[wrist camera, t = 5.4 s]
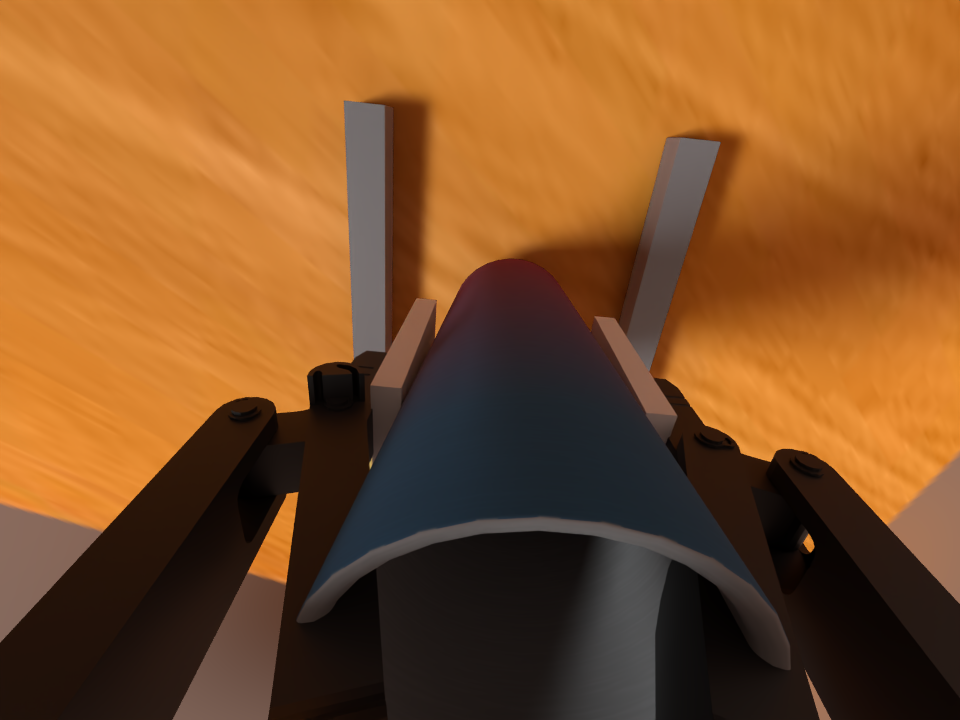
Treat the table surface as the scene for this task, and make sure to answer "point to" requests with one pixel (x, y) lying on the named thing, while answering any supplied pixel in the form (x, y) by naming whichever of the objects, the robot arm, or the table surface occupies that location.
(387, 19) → the table surface
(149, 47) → the table surface
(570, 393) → the cup
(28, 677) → the robot arm
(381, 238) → the grey u-shaped fork
